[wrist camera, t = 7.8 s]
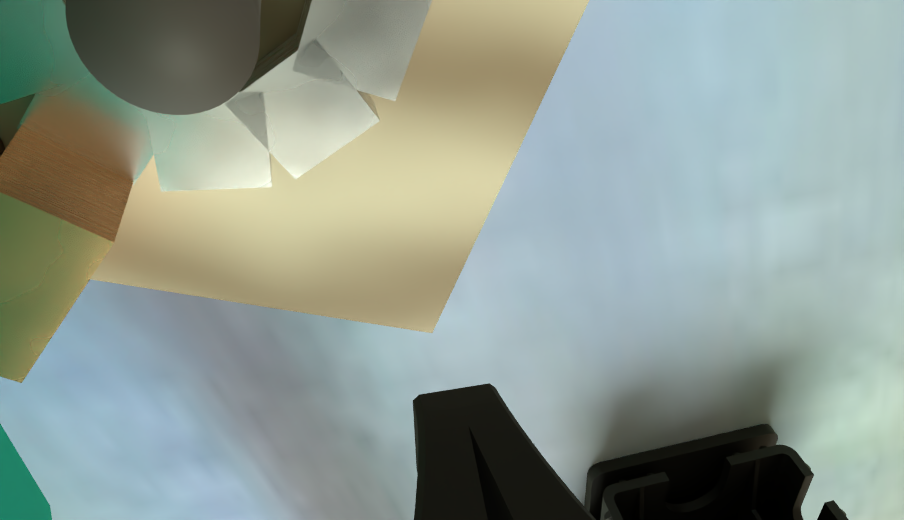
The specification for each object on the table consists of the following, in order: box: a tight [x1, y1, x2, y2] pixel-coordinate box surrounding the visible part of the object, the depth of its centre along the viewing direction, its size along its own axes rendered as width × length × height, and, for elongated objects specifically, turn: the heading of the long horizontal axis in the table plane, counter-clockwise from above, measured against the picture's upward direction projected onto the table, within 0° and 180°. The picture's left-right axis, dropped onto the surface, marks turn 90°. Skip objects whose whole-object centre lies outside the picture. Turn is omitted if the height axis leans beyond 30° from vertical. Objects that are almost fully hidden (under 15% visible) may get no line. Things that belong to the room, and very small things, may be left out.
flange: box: [0, 0, 432, 383], centre depth 14 cm, size 14×10×4 cm
